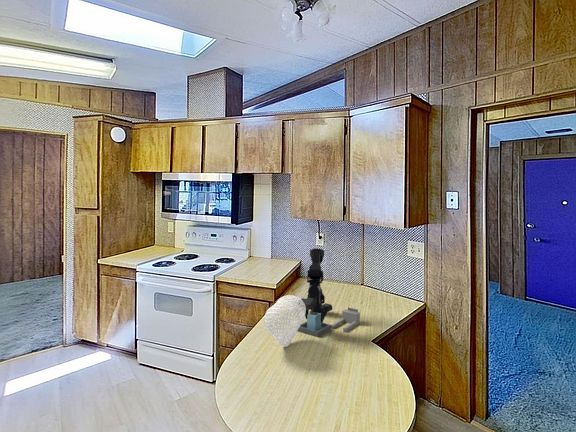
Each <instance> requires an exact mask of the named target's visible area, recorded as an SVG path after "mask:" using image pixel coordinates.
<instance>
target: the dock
mask: <svg viewBox="0 0 576 432" xmlns="http://www.w3.org/2000/svg"><path fill="white" fill-rule="evenodd" d="M341 313H342V314H341V318H340V319H338V320H337V321H335V322H333V323H332V324H330V325H331V330H332V329H336V328H337V327H339V326H340V325H342V324H343V323H347V324H348V325H346V326H344V327H342V331H343V332H344V333H347V332H348V331H349V330H351V329H353V328H354V327H356V326H357V325H359V324H360V321H361V312H359V309H357V308H352V307H347V309H343V310H342V311H341Z"/></svg>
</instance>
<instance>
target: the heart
mask: <svg viewBox="0 0 576 432" xmlns="http://www.w3.org/2000/svg"><path fill="white" fill-rule="evenodd" d="M301 299H302V298H300V297H298V296H297V295H294V294H293V295H292V294H287V295H284V296H281V297H280V298H278V299H277V301H276V302H275V304H273V305H271V306H270V307H269V308H268V309H267V310H266V312H265V313H264V323H265V327H266V328H267V330H268V332H269V333H270V334H271V335H272V336H273V337H274V338H275V340H276V341H277V342H278V343H279V344H280V345H281V346H282V347H284V348H285V347H288V346H290V344H291V343H292V341H293V339H294V337H295V336H296V334H297V333H298V329H299V327H300V325H301V324H302V323H303V321H304V319H305V318H306V317H305V313H306V307H305V304H303V303H304V302H303V301H302V300H301ZM299 300H300V301H299ZM301 302H302V303H301ZM297 303H298V304H297ZM299 303H300V304H299ZM301 305H302V306H301ZM299 306H300V307H299ZM303 306H304V307H303Z"/></svg>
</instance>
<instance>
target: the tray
mask: <svg viewBox="0 0 576 432" xmlns="http://www.w3.org/2000/svg"><path fill="white" fill-rule="evenodd" d="M331 330H332V328H331V324H330V323H327V322H326V323H325V322H323V323H321V329H320V330H318V331H315V330H312V329H308V328H307V320H306V321H304V322H302V323H301V325H300V327H299V329H298V331H297V333H298V332H299V333H302V334H305V335H309V336H313V337H314V338H315V337H316V338H319V337H321V336H323V335H325V334H326V333H327V332H329V331H331Z"/></svg>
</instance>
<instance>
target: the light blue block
mask: <svg viewBox="0 0 576 432" xmlns="http://www.w3.org/2000/svg"><path fill="white" fill-rule="evenodd" d="M306 321H307V328H308V329H312V330H315V331H318V330H320V329H321V314H320V313H316V312H311V313H310V312H309V314H308V315H307V319H306Z"/></svg>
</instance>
